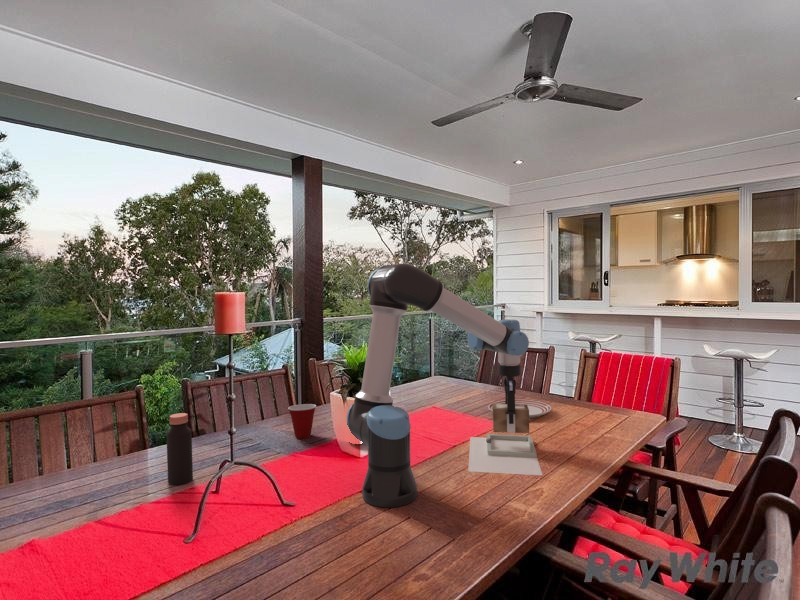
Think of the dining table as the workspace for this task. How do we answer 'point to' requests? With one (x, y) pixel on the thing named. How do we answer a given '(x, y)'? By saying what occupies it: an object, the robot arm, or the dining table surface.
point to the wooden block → (501, 418)
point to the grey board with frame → (503, 455)
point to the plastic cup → (302, 419)
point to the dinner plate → (529, 407)
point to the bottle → (179, 450)
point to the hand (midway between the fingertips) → (510, 428)
